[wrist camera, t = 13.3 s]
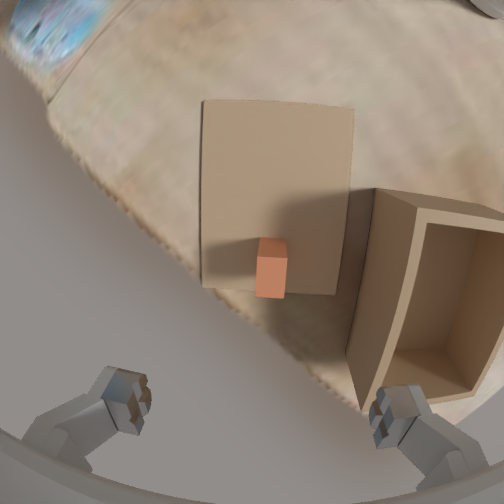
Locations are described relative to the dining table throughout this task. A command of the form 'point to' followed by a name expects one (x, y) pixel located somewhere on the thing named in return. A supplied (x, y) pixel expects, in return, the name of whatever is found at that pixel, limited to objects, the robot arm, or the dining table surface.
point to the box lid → (274, 195)
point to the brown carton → (428, 297)
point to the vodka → (491, 7)
